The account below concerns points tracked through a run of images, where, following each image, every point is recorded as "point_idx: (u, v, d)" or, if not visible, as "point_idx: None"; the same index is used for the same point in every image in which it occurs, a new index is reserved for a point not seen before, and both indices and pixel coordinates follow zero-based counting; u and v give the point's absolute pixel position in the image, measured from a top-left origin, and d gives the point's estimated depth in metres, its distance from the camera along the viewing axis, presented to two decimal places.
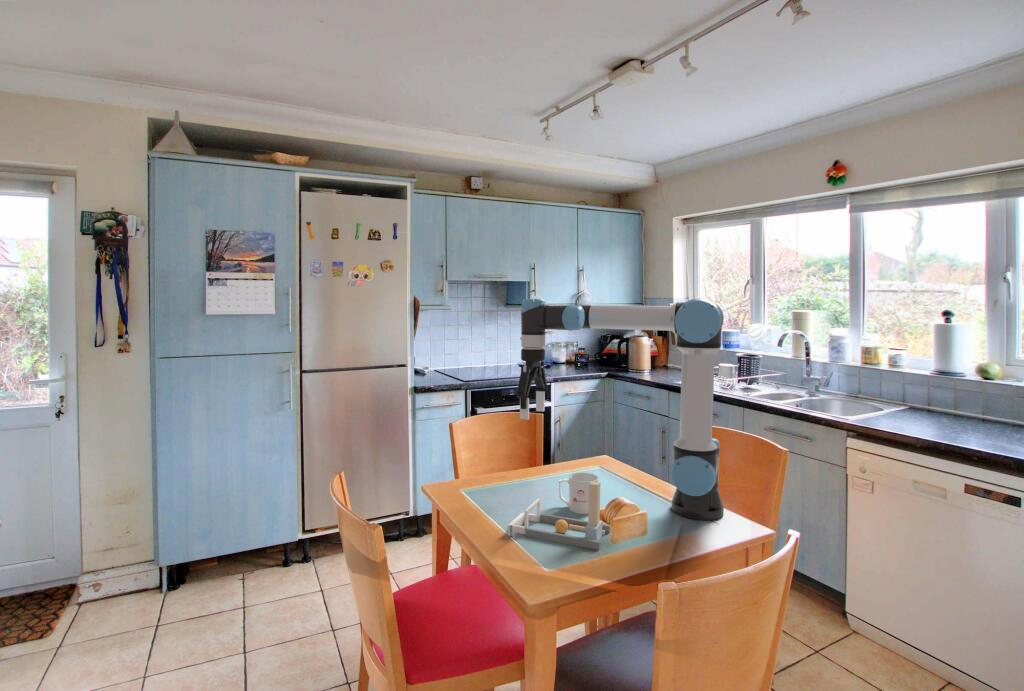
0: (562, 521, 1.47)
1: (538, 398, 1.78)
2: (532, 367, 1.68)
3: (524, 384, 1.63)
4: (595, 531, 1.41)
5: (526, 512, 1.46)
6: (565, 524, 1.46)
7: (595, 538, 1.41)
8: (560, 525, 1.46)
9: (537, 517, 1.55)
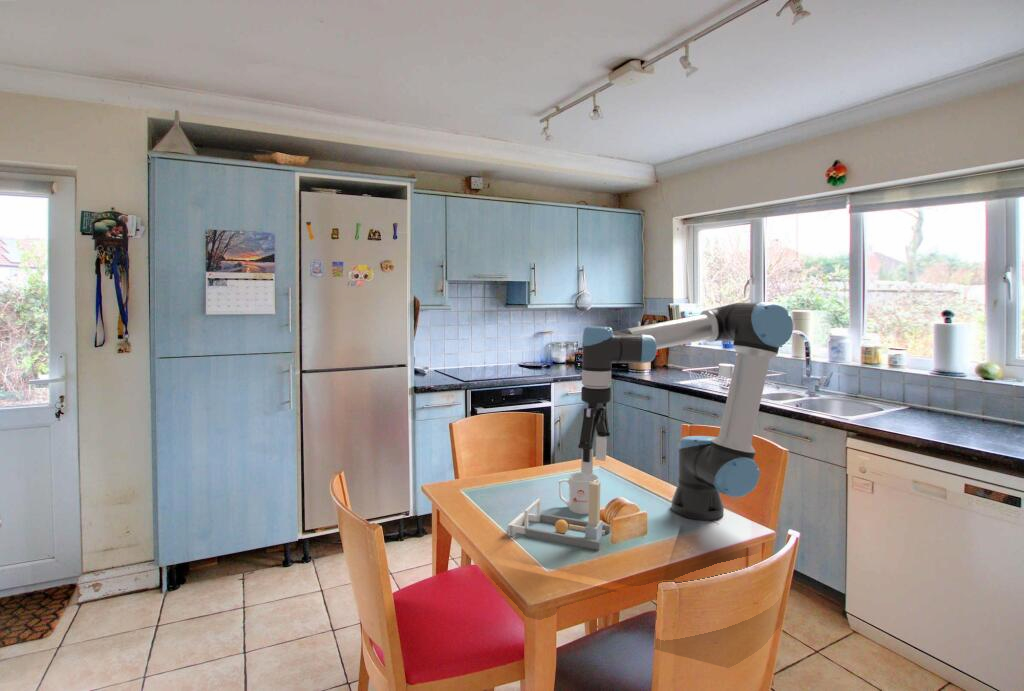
0: (562, 521, 1.47)
1: (598, 444, 1.48)
2: (596, 410, 1.38)
3: (588, 432, 1.34)
4: (595, 531, 1.41)
5: (526, 512, 1.46)
6: (565, 524, 1.46)
7: (595, 538, 1.41)
8: (560, 525, 1.46)
9: (537, 517, 1.55)
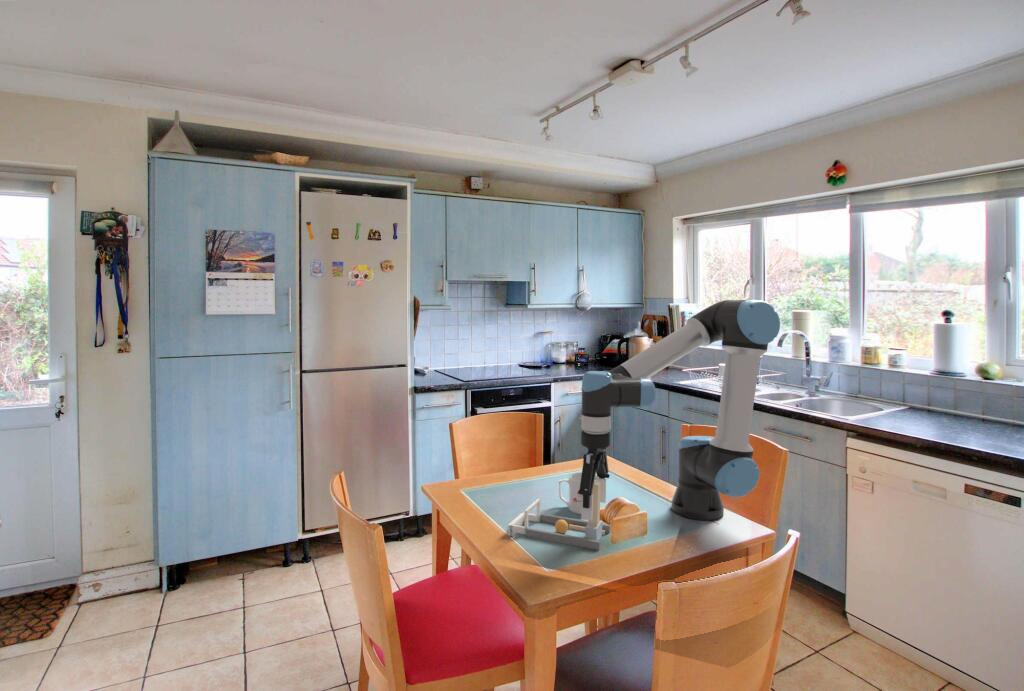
0: (562, 521, 1.47)
1: None
2: (596, 455, 1.39)
3: (588, 479, 1.34)
4: (595, 531, 1.41)
5: (526, 512, 1.46)
6: (565, 524, 1.46)
7: (595, 538, 1.41)
8: (560, 525, 1.46)
9: (537, 517, 1.55)
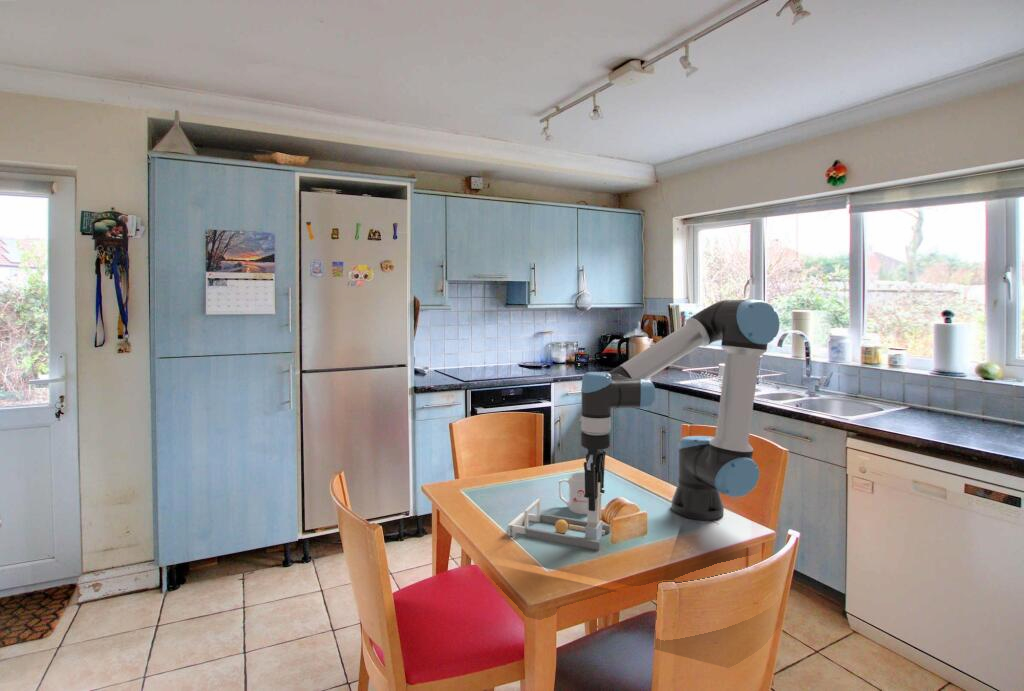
0: (562, 521, 1.47)
1: None
2: (596, 457, 1.39)
3: (592, 485, 1.38)
4: (595, 531, 1.41)
5: (526, 512, 1.46)
6: (565, 524, 1.46)
7: (595, 538, 1.41)
8: (560, 525, 1.46)
9: (537, 517, 1.55)
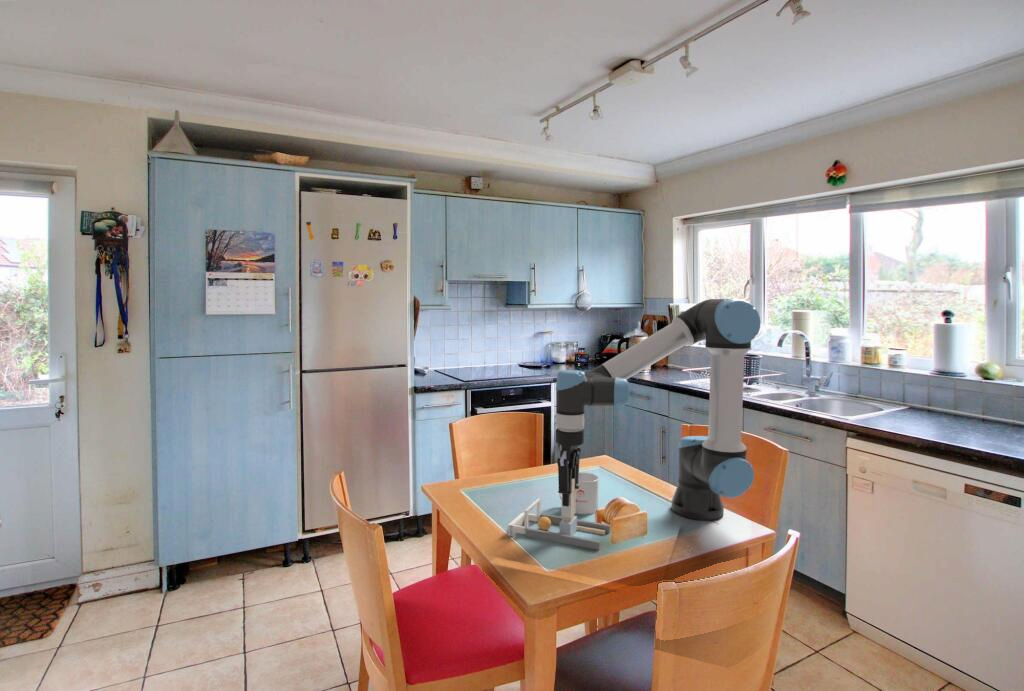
0: None
1: None
2: (569, 453, 1.42)
3: (565, 481, 1.41)
4: (569, 526, 1.43)
5: (526, 512, 1.46)
6: (538, 523, 1.50)
7: (569, 533, 1.44)
8: (540, 527, 1.48)
9: (537, 517, 1.55)
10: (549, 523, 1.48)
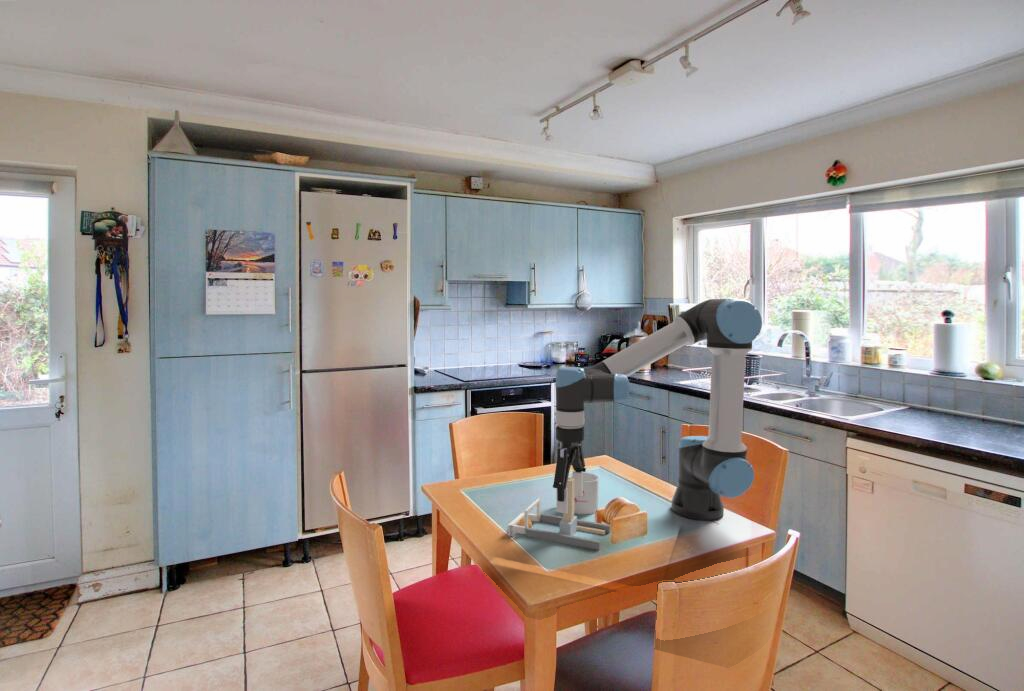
0: None
1: (575, 480, 1.52)
2: (570, 450, 1.42)
3: (562, 473, 1.37)
4: (569, 526, 1.43)
5: (526, 512, 1.46)
6: (529, 523, 1.51)
7: (569, 533, 1.44)
8: (524, 523, 1.50)
9: (537, 517, 1.55)
10: None
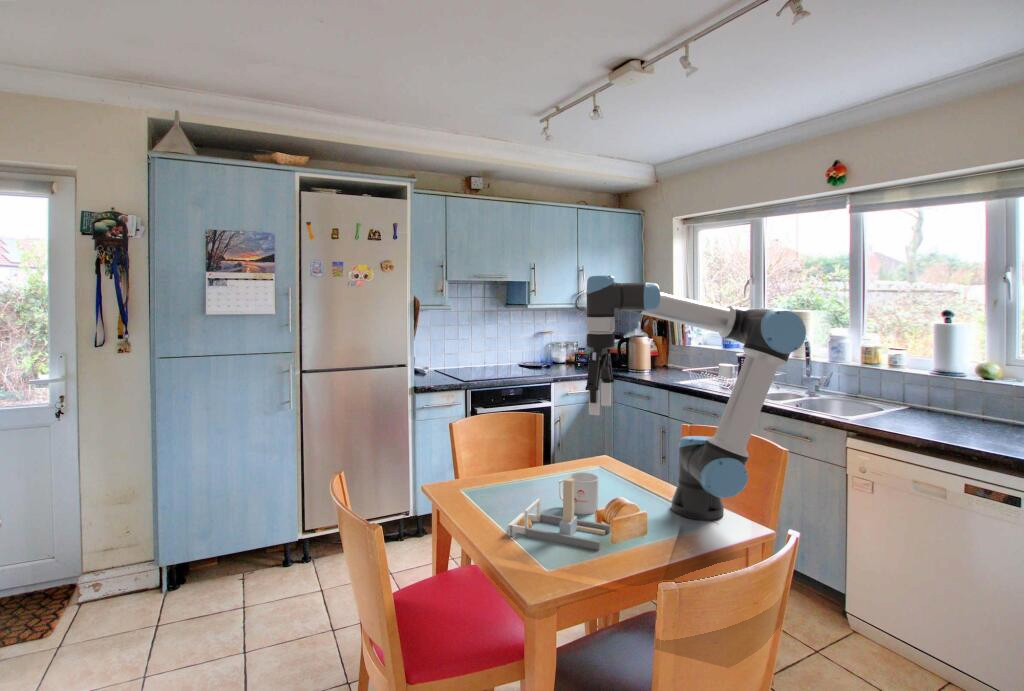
0: None
1: (604, 390, 1.55)
2: (601, 354, 1.45)
3: (595, 374, 1.41)
4: (569, 526, 1.43)
5: (526, 512, 1.46)
6: (529, 523, 1.51)
7: (569, 533, 1.44)
8: (524, 523, 1.50)
9: (537, 517, 1.55)
10: None
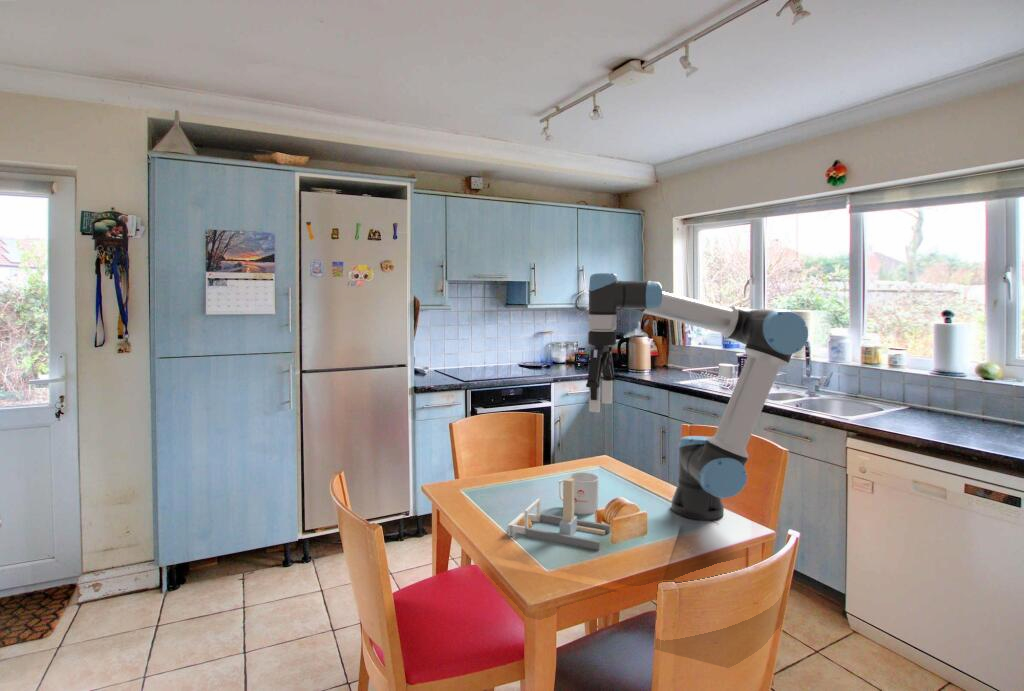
0: None
1: (605, 388, 1.56)
2: (602, 352, 1.46)
3: (595, 371, 1.41)
4: (569, 526, 1.43)
5: (526, 512, 1.46)
6: (529, 523, 1.51)
7: (569, 533, 1.44)
8: (524, 523, 1.50)
9: (537, 517, 1.55)
10: None
